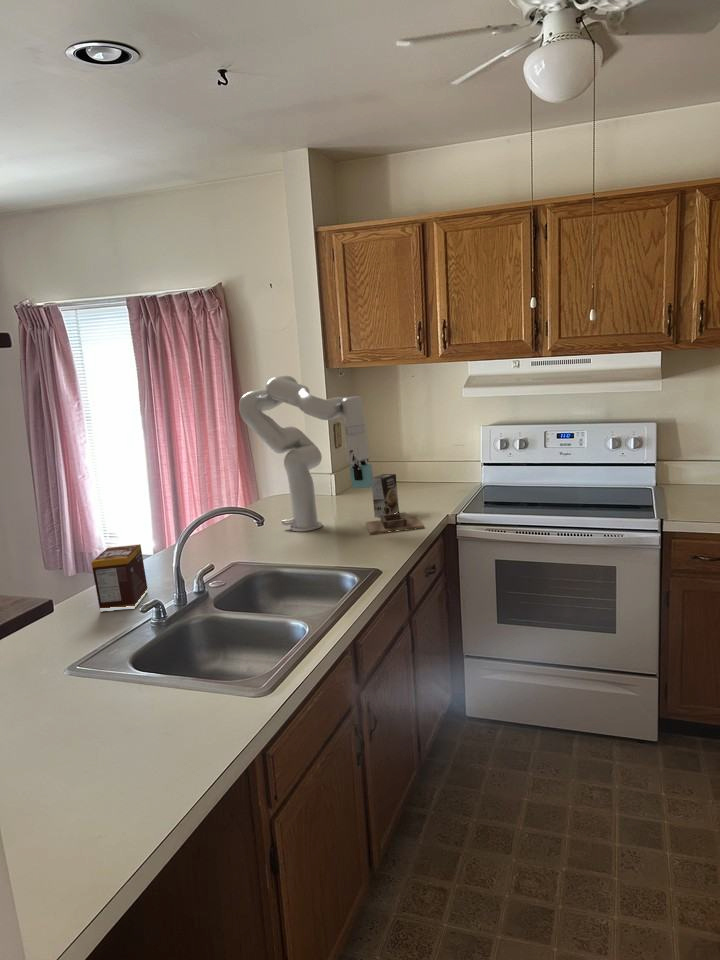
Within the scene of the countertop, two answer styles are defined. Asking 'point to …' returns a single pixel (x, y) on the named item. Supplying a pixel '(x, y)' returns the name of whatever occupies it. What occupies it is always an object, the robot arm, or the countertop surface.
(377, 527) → the keyed holder
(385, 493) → the coffee box
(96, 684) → the countertop surface
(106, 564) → the supplement box
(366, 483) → the keyed block
